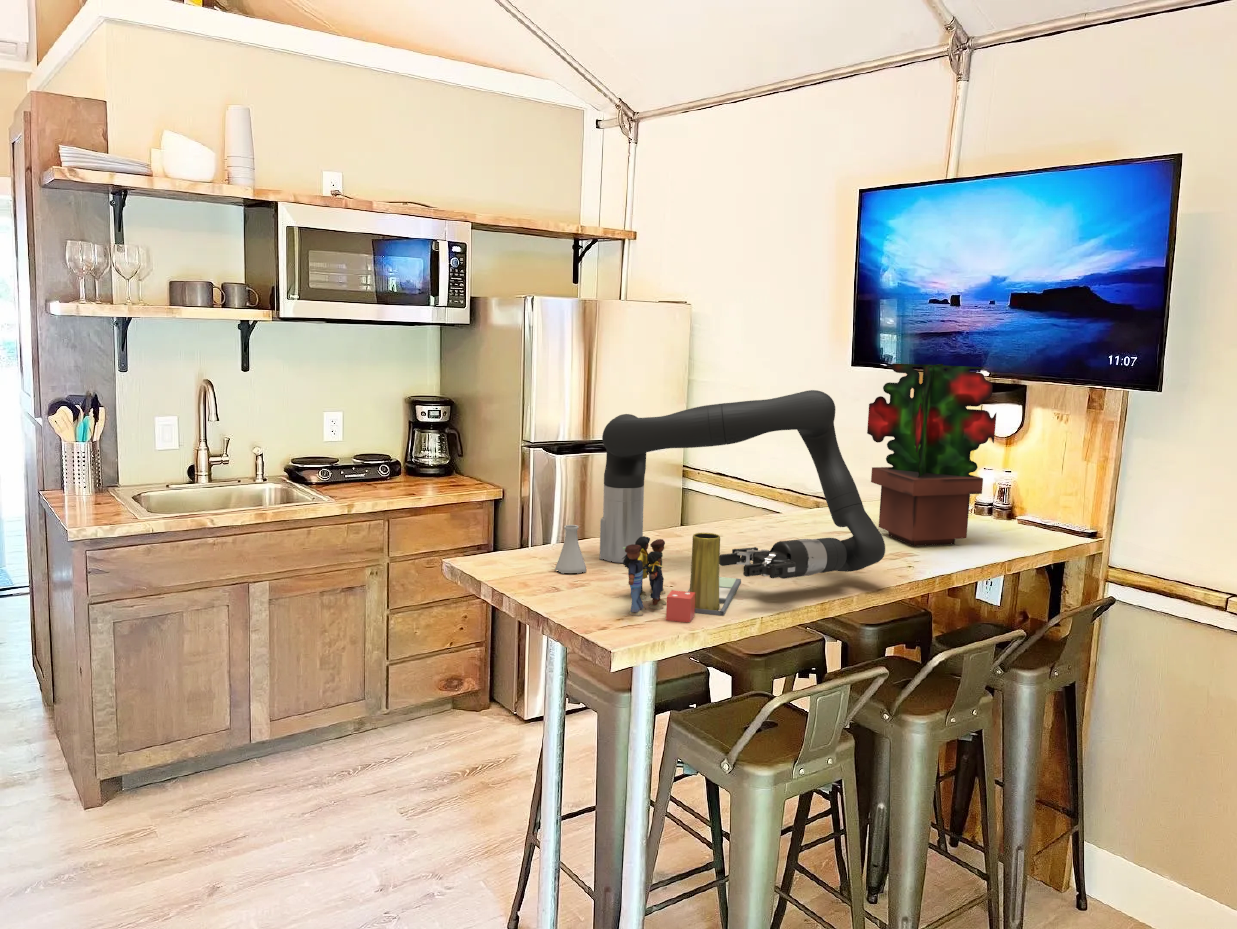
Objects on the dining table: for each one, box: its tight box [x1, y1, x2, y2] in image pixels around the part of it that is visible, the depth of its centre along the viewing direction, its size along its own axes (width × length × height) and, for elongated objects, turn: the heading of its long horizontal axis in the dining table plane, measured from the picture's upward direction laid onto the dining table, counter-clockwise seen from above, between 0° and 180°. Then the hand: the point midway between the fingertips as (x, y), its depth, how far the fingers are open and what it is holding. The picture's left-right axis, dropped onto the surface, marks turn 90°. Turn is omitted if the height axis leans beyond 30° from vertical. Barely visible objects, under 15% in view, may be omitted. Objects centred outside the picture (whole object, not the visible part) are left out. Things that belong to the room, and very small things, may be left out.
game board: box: [687, 576, 742, 617], centre depth 194 cm, size 9×24×1 cm, turn 165°
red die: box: [665, 590, 696, 623], centre depth 179 cm, size 4×4×5 cm
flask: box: [554, 524, 587, 574], centre depth 210 cm, size 7×7×10 cm
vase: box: [689, 532, 721, 611], centre depth 186 cm, size 6×6×14 cm
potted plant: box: [866, 362, 997, 547], centre depth 245 cm, size 22×22×45 cm
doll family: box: [622, 535, 667, 617], centre depth 188 cm, size 23×9×13 cm, turn 1°
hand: (732, 565), depth 188 cm, fingers open, 8 cm apart
